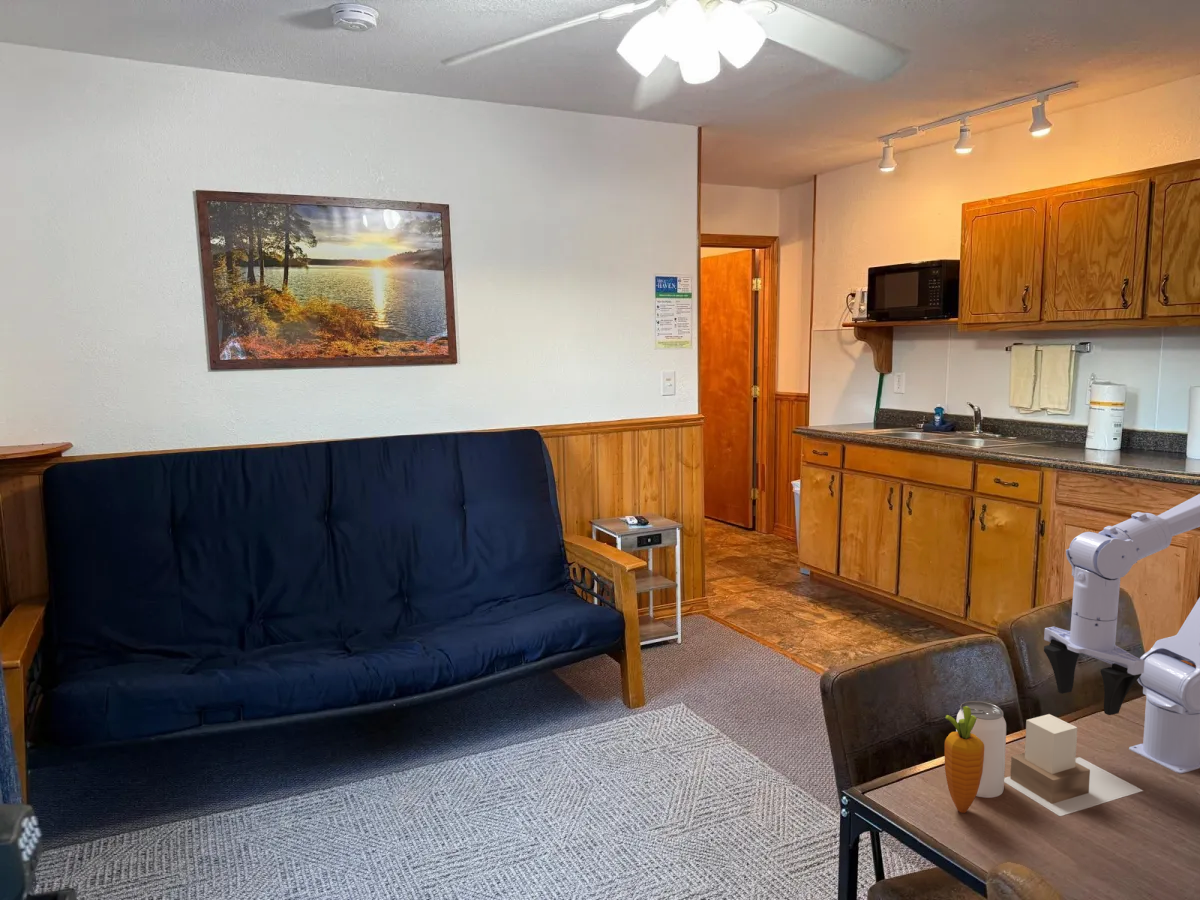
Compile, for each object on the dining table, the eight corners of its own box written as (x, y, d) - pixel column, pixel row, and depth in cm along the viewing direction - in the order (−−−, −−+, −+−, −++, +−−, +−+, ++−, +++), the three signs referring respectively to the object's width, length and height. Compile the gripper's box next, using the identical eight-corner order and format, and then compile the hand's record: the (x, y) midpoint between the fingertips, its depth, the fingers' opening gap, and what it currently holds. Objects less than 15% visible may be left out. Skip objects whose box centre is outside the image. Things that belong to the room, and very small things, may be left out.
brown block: (1045, 768, 119) (1047, 746, 119) (1088, 792, 113) (1090, 769, 112) (1010, 778, 117) (1011, 756, 116) (1051, 803, 110) (1053, 780, 110)
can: (1009, 802, 112) (1012, 721, 110) (960, 798, 113) (962, 718, 111) (996, 777, 118) (999, 701, 116) (949, 773, 119) (952, 698, 118)
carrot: (965, 828, 106) (969, 722, 104) (934, 809, 110) (937, 707, 108) (990, 817, 108) (994, 713, 106) (958, 799, 113) (962, 699, 111)
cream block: (1047, 752, 117) (1049, 713, 116) (1075, 767, 113) (1077, 727, 112) (1024, 758, 116) (1026, 720, 115) (1052, 774, 111) (1054, 733, 111)
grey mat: (1079, 759, 122) (1079, 757, 122) (1143, 793, 113) (1143, 790, 113) (999, 781, 117) (999, 779, 117) (1059, 818, 108) (1059, 816, 107)
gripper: (1031, 603, 122) (1026, 687, 124) (1122, 634, 109) (1114, 728, 110) (1065, 597, 125) (1059, 680, 126) (1158, 628, 111) (1149, 720, 113)
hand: (1087, 702), depth 119 cm, fingers open, 7 cm apart
